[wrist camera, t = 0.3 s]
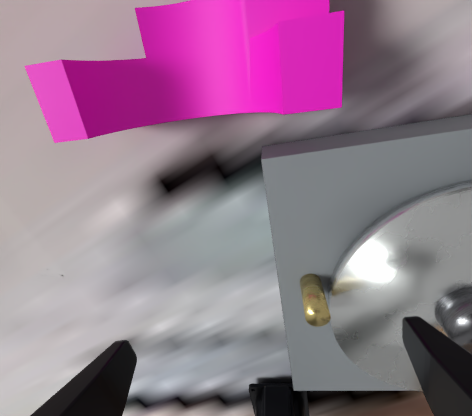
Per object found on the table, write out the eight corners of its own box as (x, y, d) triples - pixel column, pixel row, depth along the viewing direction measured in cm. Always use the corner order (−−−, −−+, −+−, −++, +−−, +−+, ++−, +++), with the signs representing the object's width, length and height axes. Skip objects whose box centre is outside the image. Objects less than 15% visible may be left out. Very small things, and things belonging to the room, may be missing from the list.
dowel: (321, 289, 21) (331, 326, 18) (300, 290, 21) (306, 327, 18) (320, 272, 20) (330, 307, 17) (298, 274, 21) (304, 309, 17)
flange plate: (560, 389, 22) (612, 444, 19) (331, 390, 25) (341, 437, 22) (667, 157, 15) (786, 179, 11) (321, 197, 18) (333, 224, 14)
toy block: (314, -9, 17) (346, -71, 10) (315, 99, 19) (341, 107, 13) (95, 32, 19) (0, 4, 12) (121, 124, 22) (54, 142, 15)
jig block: (533, 347, 26) (576, 390, 22) (290, 353, 30) (293, 390, 26) (627, 90, 17) (724, 91, 13) (262, 146, 21) (261, 159, 17)
